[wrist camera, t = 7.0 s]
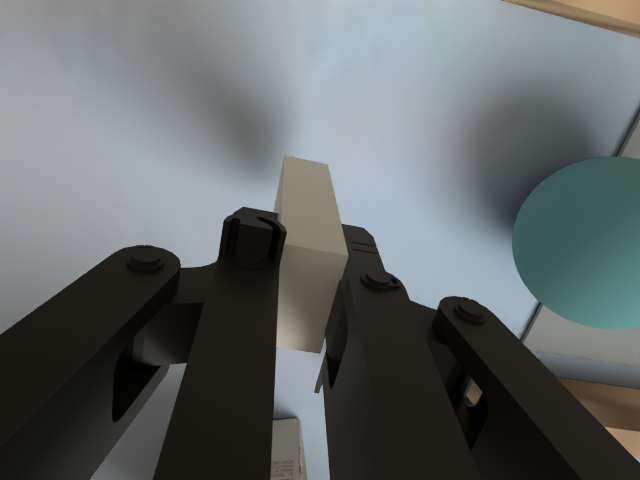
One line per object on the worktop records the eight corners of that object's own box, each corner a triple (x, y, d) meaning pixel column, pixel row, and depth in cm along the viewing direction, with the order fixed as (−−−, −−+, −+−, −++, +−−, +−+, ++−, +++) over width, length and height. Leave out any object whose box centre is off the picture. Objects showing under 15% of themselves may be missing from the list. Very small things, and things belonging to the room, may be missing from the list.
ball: (635, 311, 19) (487, 275, 21) (691, 168, 18) (527, 139, 19) (710, 385, 14) (500, 329, 15) (803, 187, 12) (558, 143, 13)
